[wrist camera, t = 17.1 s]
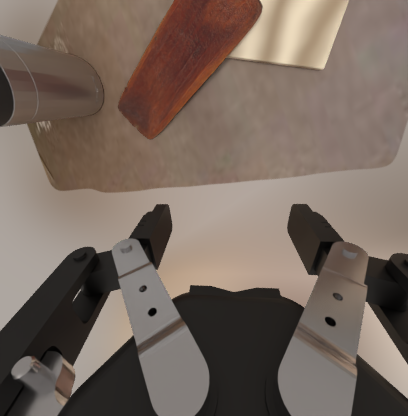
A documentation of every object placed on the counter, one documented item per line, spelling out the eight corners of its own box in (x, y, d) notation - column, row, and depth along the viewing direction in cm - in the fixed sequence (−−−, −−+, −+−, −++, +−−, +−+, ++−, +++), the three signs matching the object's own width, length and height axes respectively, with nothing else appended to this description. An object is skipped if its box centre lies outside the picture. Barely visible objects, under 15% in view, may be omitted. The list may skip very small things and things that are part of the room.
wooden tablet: (220, -68, 23) (219, -79, 21) (267, 12, 25) (269, 7, 24) (112, 102, 35) (106, 102, 33) (151, 144, 37) (148, 145, 36)
